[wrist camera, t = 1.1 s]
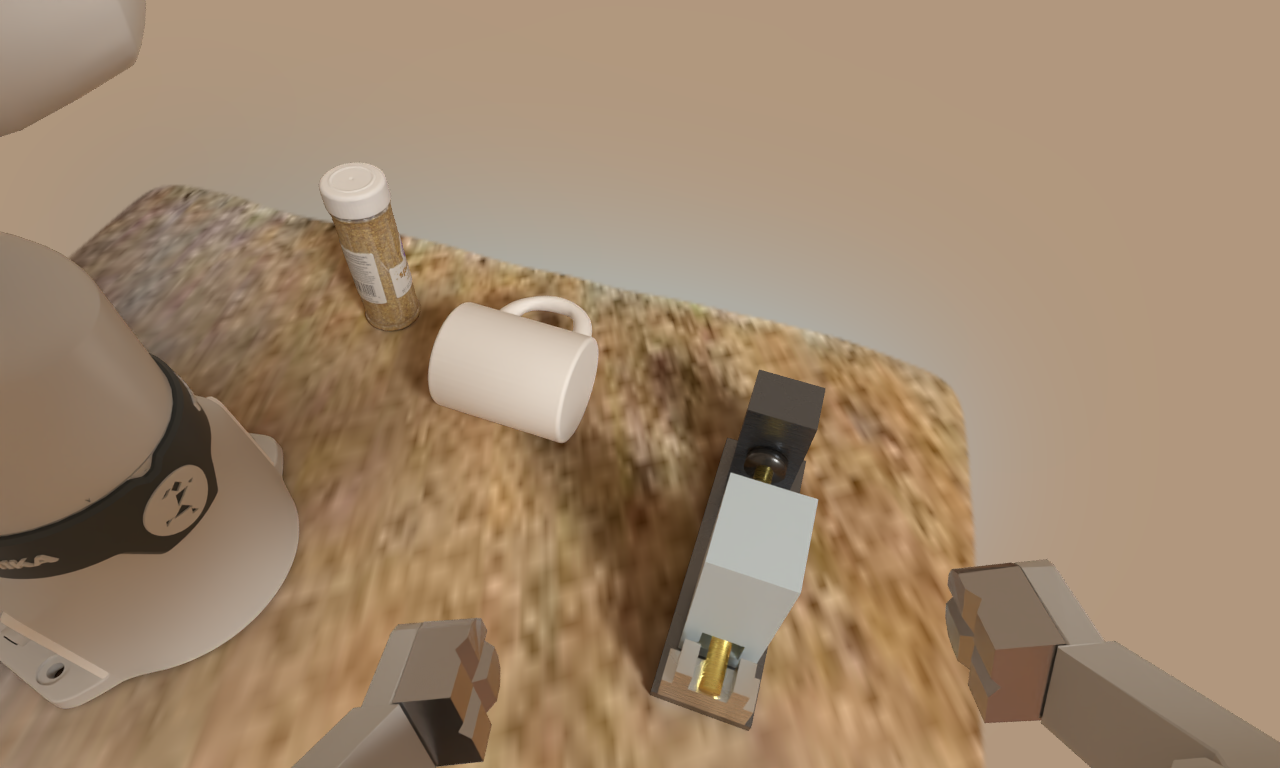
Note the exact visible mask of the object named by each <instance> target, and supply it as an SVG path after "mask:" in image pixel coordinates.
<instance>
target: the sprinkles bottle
mask: <svg viewBox="0 0 1280 768" xmlns="http://www.w3.org/2000/svg"><path fill="white" fill-rule="evenodd" d="M319 190H320V193H321V196H322V199H323V202H324V205H325V207H326V209H327V211H328V212H329V214H330V215H331V216H332V220H333V222H334V225H335V227H336V230H337V233H338V237H339V241H340V244H341V247H342V250H343V253H344V255H345V258H346V261H347V264H348V266H349V269H350V272H351V274H352V277H353V280H354V283H355V285H356V288H357V291H358V293H359V295H360V296H361V299H362V302H363V304H364V307H365V310H366V312H365V314H366V318H367V320H368V321H369V323H370V324H371V325H373V326H374V327H376V328H378V329H381V330H387V331H391V330H399V329H403V328H404V327H407V326H409V325H410V324H411V323H412V322H414V321H415V320H416V318H417V317H418V316H419V313H420V303H419V300H418V299H417V297H416V294H415V290H414V287H413V283H412V277H411V273H410V270H409V266H408V263H407V260H406V256H405V253H404V249H403V245H402V242H401V238H400V234H399V232H398V230H397V226H396V223H395V219H394V215H393V213H392V208H391V204H390V201H391V194H390V190H389V186H388V183H387V180H386V176H385V174H384V173H383V172H382V171H381V170H380V169H379V168H378V167H376V166H374V165H371V164H367V163H357V162H356V163H347V164H343V165H339V166H336V167H334V168H332V169H330V170H329V171H327V172H326V173H325V174H324V175H323V176H322V178H321V179H320V182H319Z"/></svg>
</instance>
